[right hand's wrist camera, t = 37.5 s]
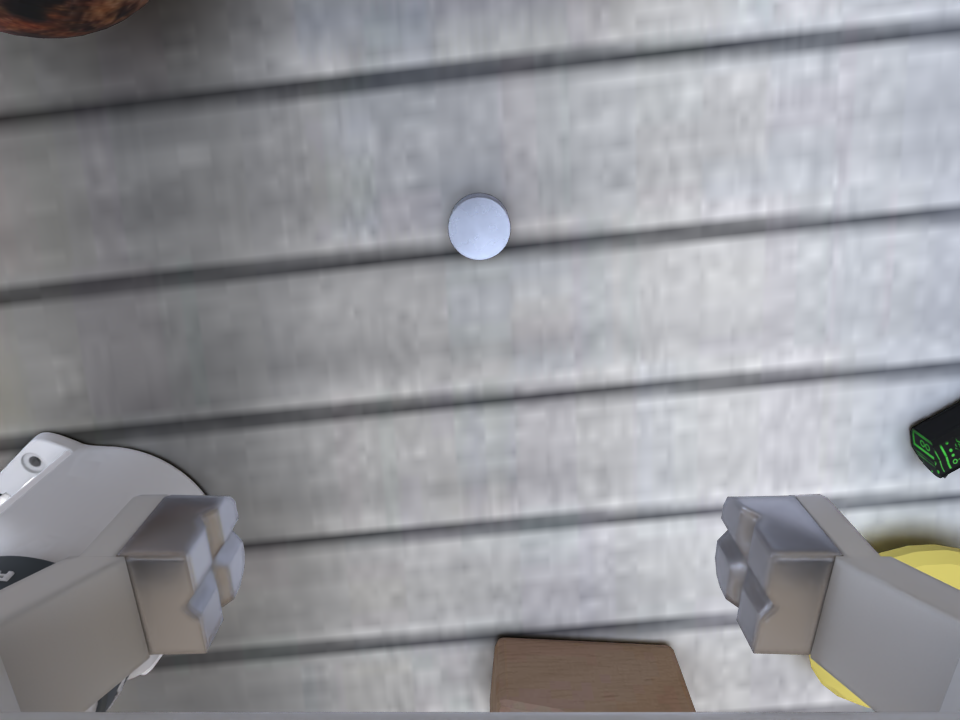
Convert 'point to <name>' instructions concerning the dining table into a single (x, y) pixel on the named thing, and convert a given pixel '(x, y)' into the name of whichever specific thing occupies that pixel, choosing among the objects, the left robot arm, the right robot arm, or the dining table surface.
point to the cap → (479, 226)
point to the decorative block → (586, 677)
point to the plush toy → (63, 16)
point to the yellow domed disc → (930, 559)
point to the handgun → (939, 441)
